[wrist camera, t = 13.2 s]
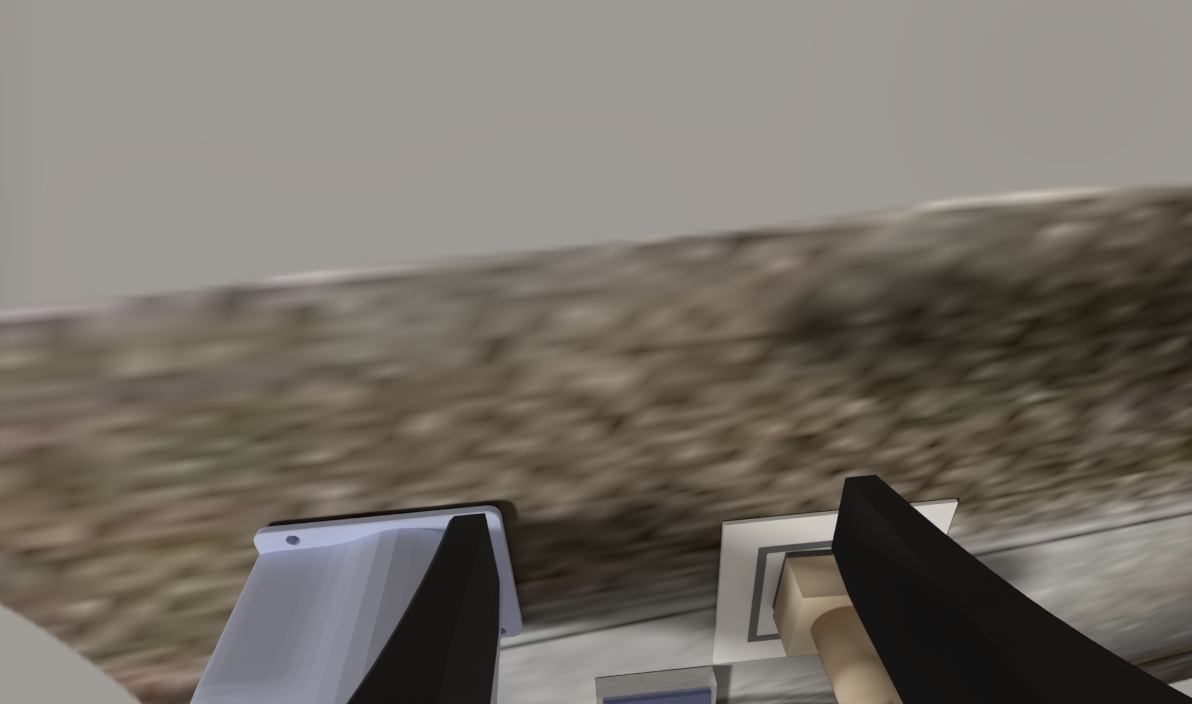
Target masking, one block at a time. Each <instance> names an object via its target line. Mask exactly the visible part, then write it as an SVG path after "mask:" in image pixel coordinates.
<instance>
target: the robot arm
mask: <svg viewBox="0 0 1192 704" xmlns="http://www.w3.org/2000/svg"><path fill="white" fill-rule="evenodd" d="M294 536H296V537H294ZM254 544H255V546H256V548H257V550H258V552H259V553H260V555H259V557H258V559H257V561H256V563H255V565H254V567H253V570H252V572H251V574H250V576H249V578H248V580H247V582H246V584H245V587H244V589H243V591H242V593H241V595H240V597H239V599H238V601H237V603H236V606H235V608H234V610H233V612H232V614H231V616H230V618H229V620H228V623H227V625H226V627H225V629H224V631H223V633H222V635H221V637H220V639H219V642H218V644H217V646H216V648H215V650H214V652H213V654H212V656H211V658H210V661H209V663H208V665H207V667H206V669H205V671H204V673H203V675H202V678H201V680H200V682H199V684H198V686H197V688H196V691H195V693H194V696H193V698H192V701H191V703H190V704H497V691H498V674H499V657H500V640H501V638H503V637H512V636H516V635H518V634H520V633H521V632H522V624H523V622H522V617H521V612H520V607H519V602H518V597H517V592H516V587H515V581H514V576H513V571H512V566H511V561H510V556H509V551H508V546H507V541H506V536H505V531H504V525H503V520H502V515H501V512H500V510H499V509H498V508H496V507H494V506H477V507H467V508H457V509H446V510H436V511H426V512H415V513H405V514H395V515H385V516H374V517H364V518H354V519H343V520H333V521H323V522H312V523H302V524H292V525H281V526H271V527H264V528H261V529H259V530H258V531H257V533H256V535H255V538H254ZM831 549H832V552H833V554H834V557H835V560H836V563H837V566H838V569H839V572H840V575H841V577H842V580H843V582H844V585H845V588H846V590H847V593H848V596H849V598H850V600H851V602H852V604H853V606H854V608H855V610H856V612H857V614H858V616H859V618H860V620H861V622H862V624H863V626H864V628H865V630H866V632H867V634H868V636H869V638H870V640H871V642H872V644H873V646H874V648H875V650H876V652H877V654H878V656H879V657H880V659H881V661H882V663H883V665H884V667H885V669H886V671H887V673H888V675H889V677H890V679H891V681H892V683H893V685H894V687H895V689H896V691H897V693H898V695H899V697H900V699H901V701H902V703H903V704H1192V698H1191V697H1189V696H1187V695H1185V694H1184V693H1182V692H1180V691H1178V690H1176V689H1174V688H1172V687H1171V686H1169V685H1167V684H1165V683H1163V682H1162V681H1160V680H1158V679H1157V678H1155V677H1153V676H1151V675H1150V674H1148V673H1146V672H1144V671H1143V670H1141V669H1139V668H1138V667H1136V666H1134V665H1132V664H1131V663H1129V662H1127V661H1125V660H1124V659H1122V658H1120V657H1119V656H1117V655H1115V654H1114V653H1112V652H1110V651H1109V650H1107V649H1105V648H1104V647H1102V646H1101V645H1099V644H1097V643H1096V642H1094V641H1092V640H1091V639H1089V638H1088V637H1086V636H1085V635H1083V634H1082V633H1080V632H1079V631H1077V630H1076V629H1074V628H1073V627H1071V626H1069V625H1068V624H1066V623H1065V622H1063V621H1062V620H1060V619H1059V618H1057V617H1056V616H1054V615H1053V614H1051V613H1050V612H1048V611H1047V610H1045V609H1044V608H1042V607H1041V606H1039V605H1038V604H1037V603H1035V602H1034V601H1032V600H1031V599H1029V598H1028V597H1027V596H1025V595H1024V594H1023V593H1021V592H1020V591H1019V590H1017V589H1016V588H1014V587H1013V586H1012V585H1010V584H1009V583H1008V582H1006V581H1005V580H1004V579H1002V578H1001V577H1000V576H998V575H997V574H995V573H994V572H993V571H992V570H990V569H989V568H988V567H986V566H985V565H984V564H982V563H981V562H980V561H979V560H977V559H976V558H975V557H974V556H972V555H971V554H970V553H968V552H967V551H966V550H965V549H963V548H962V547H961V546H960V545H959V544H957V543H956V542H955V541H954V540H952V539H951V538H950V537H949V536H947V535H946V534H945V533H944V532H943V531H941V530H940V529H939V528H938V527H937V526H935V525H934V524H933V523H932V522H931V521H930V520H928V519H927V518H926V517H925V516H924V515H922V514H921V513H920V512H919V511H918V510H916V509H915V508H914V507H913V506H912V505H911V504H909V503H908V502H907V501H906V500H905V499H904V498H902V497H901V496H900V495H899V494H898V493H897V492H895V491H894V490H893V489H892V488H891V487H890V486H888V485H887V484H886V483H885V482H884V481H882V480H881V479H880V478H879V477H878V476H876V475H869V476H858V477H848V478H845V483H844V488H843V493H842V498H841V502H840V507H839V512H838V517H837V521H836V526H835V531H834V536H833V541H832V545H831Z"/></svg>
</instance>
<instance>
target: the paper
mask: <svg viewBox="0 0 1192 704" xmlns="http://www.w3.org/2000/svg"><path fill="white" fill-rule="evenodd" d="M909 504H911V505H912V506H913V507H914V508H915V509H916V510H918V511H919V512H920V513H921V514H922V515H924V516H925V517H926V518H927V519H928V520H930V521H931V522H932V523H933V524H934V525H935V526H937V527H938V528H939V529H940V530H941V531H943V532H944V533H945V534H946V535H947V532H948V529H949V527H950V524H951V521H952V518H953V515H954V512H955V509H956V507H957V504H958V501H957V500H956V499H947V500H937V501H927V502H917V503H909ZM838 512H839V510H836V511H826V512H816V513H806V514H796V515H786V516H776V517H765V518H755V519H745V520H735V521H725V522H723V523H722V538H721V552H720V566H719V580H718V594H717V608H716V622H715V636H714V650H713V663H714V664H719V663H729V662H738V661H747V660H757V659H766V658H776V657H785V656H786V653H785V650H784V647H783V644H782V641H781V639H780V636H779V633H778V630H777V627H776V625H775V622H774V619H773V612H774V611H773V608H772V606H773V602H774V598H775V594H776V590H777V585H778V581H779V577H780V573H781V569H782V564H783V560H784V556H785V552H796V551H813V550H829V549H831V545H832V541H833V536H834V531H835V526H836V521H837V517H838Z"/></svg>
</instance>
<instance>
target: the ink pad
mask: <svg viewBox="0 0 1192 704" xmlns="http://www.w3.org/2000/svg"><path fill="white" fill-rule="evenodd" d="M595 685H596V698H597V704H716V692H717V683H716V679H715V675H714V671H713V667H712V666H708V667H699V668H689V669H680V670H670V671H661V672H652V673H642V674H633V675H624V676H614V677H605V678H595Z"/></svg>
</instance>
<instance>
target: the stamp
mask: <svg viewBox="0 0 1192 704" xmlns="http://www.w3.org/2000/svg"><path fill="white" fill-rule="evenodd" d="M772 608H773V611H774V612H773V619H774V622H775V625H776V627H777V630H778V633H779V636H780V639H781V641H782V644H783V647H784V650H785V653H786V656H787V657H791V656H805V655H819V656H820V658H821V661H822V663H823V666H824V668H825V671H826V673H827V676H828V678H829V681H830V683H831V686H832V688H833V691H834V693H835V696H836V698H837V701H838V703H839V704H903V703H902V701H901V699H900V697H899V695H898V693H897V691H896V689H895V687H894V685H893V683H892V681H891V679H890V677H889V675H888V673H887V671H886V669H885V667H884V665H883V663H882V661H881V659H880V657H879V656H878V654H877V652H876V650H875V648H874V646H873V644H872V642H871V640H870V638H869V636H868V634H867V632H866V630H865V628H864V626H863V624H862V622H861V620H860V618H859V616H858V614H857V612H856V610H855V608H854V606H853V604H852V602H851V600H850V598H849V596H848V593H847V590H846V588H845V585H844V582H843V580H842V577H841V575H840V572H839V569H838V566H837V563H836V560H835V557H834V554H833V552H832V549H829V550H813V551H796V552H785V556H784V560H783V564H782V569H781V573H780V577H779V581H778V585H777V590H776V594H775V598H774V602H773V606H772Z"/></svg>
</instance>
